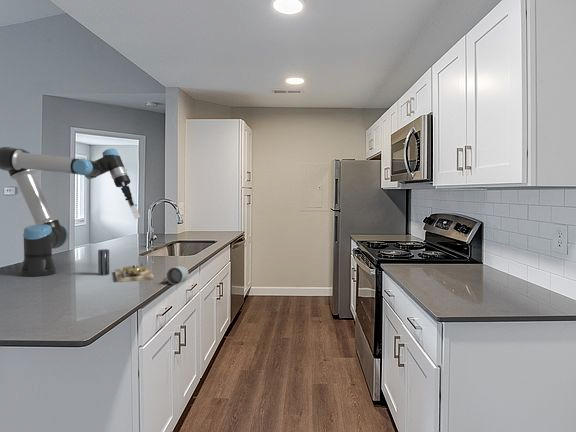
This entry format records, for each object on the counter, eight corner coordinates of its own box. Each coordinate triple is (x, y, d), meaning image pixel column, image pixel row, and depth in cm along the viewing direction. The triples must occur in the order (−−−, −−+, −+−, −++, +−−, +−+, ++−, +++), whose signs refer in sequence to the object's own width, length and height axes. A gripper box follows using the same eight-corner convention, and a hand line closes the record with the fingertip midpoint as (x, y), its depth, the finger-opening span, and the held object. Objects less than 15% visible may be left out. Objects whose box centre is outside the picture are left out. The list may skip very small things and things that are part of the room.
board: (116, 282, 191) (116, 272, 190) (114, 272, 213) (114, 263, 213) (154, 279, 197) (154, 269, 197) (148, 270, 220) (148, 261, 220)
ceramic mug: (189, 281, 194) (189, 264, 194) (182, 285, 186) (182, 267, 186) (167, 280, 196) (167, 264, 196) (159, 284, 188) (159, 267, 188)
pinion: (98, 275, 205) (98, 250, 204) (98, 273, 209) (98, 249, 209) (109, 274, 207) (109, 250, 206) (109, 273, 211) (109, 249, 211)
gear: (123, 278, 192) (123, 267, 192) (122, 274, 202) (122, 264, 201) (147, 276, 196) (147, 266, 196) (145, 272, 206) (145, 263, 206)
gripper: (125, 167, 208) (141, 206, 206) (130, 182, 231) (145, 217, 229) (109, 172, 206) (126, 212, 203) (116, 187, 229) (131, 222, 227)
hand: (136, 215), depth 216 cm, fingers open, 13 cm apart
